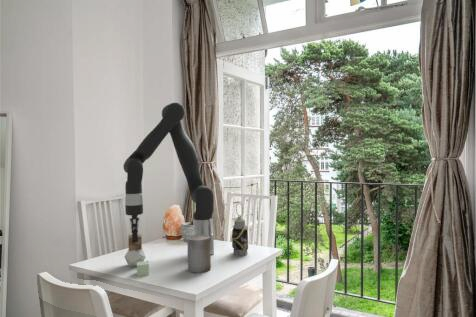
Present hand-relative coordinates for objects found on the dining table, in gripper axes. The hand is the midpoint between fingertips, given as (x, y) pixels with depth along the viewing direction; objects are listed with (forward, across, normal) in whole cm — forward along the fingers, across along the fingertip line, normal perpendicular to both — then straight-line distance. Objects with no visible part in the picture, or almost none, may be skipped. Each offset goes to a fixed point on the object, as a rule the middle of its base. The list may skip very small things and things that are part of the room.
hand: (135, 240), depth 156 cm
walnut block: (+4, 0, 0) cm, 4 cm away
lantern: (+12, +2, -49) cm, 50 cm away
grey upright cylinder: (+12, -15, -26) cm, 32 cm away
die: (+12, 0, 0) cm, 12 cm away
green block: (+11, -13, -3) cm, 18 cm away
